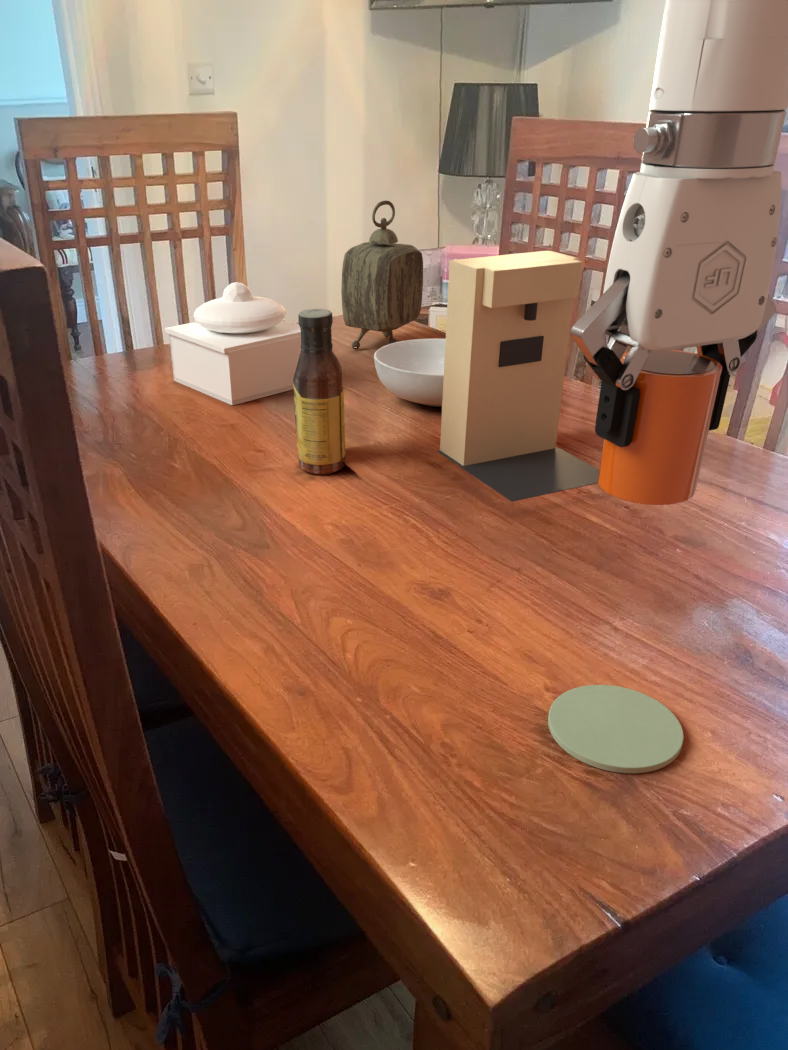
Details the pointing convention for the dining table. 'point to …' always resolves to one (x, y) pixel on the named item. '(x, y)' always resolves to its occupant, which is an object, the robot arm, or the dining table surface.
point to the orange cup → (664, 431)
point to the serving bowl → (413, 370)
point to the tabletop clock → (381, 282)
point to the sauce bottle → (319, 397)
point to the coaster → (615, 729)
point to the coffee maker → (510, 372)
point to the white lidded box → (236, 347)
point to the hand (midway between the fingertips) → (656, 430)
